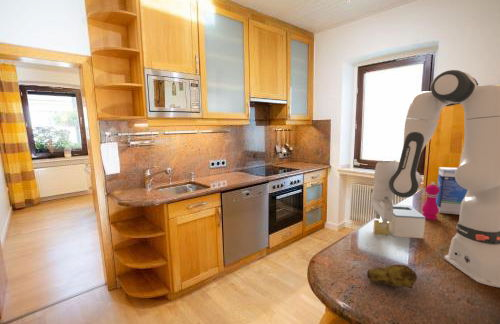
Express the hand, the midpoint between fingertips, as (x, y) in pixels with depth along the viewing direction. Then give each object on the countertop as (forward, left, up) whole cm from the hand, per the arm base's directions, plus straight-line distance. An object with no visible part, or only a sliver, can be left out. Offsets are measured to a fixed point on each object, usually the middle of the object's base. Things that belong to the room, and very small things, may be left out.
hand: (380, 222), depth 116 cm
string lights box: (+37, -48, -5) cm, 61 cm away
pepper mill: (+25, -32, -5) cm, 41 cm away
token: (-1, 0, -5) cm, 5 cm away
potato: (-42, +9, -5) cm, 43 cm away
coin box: (+5, -11, -5) cm, 14 cm away
